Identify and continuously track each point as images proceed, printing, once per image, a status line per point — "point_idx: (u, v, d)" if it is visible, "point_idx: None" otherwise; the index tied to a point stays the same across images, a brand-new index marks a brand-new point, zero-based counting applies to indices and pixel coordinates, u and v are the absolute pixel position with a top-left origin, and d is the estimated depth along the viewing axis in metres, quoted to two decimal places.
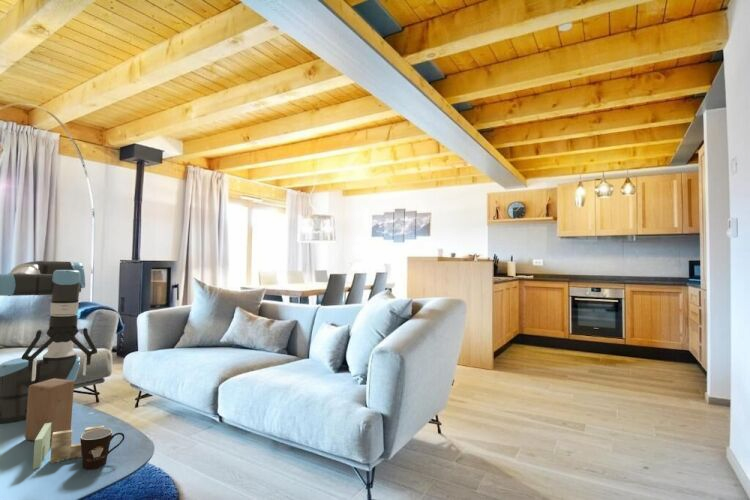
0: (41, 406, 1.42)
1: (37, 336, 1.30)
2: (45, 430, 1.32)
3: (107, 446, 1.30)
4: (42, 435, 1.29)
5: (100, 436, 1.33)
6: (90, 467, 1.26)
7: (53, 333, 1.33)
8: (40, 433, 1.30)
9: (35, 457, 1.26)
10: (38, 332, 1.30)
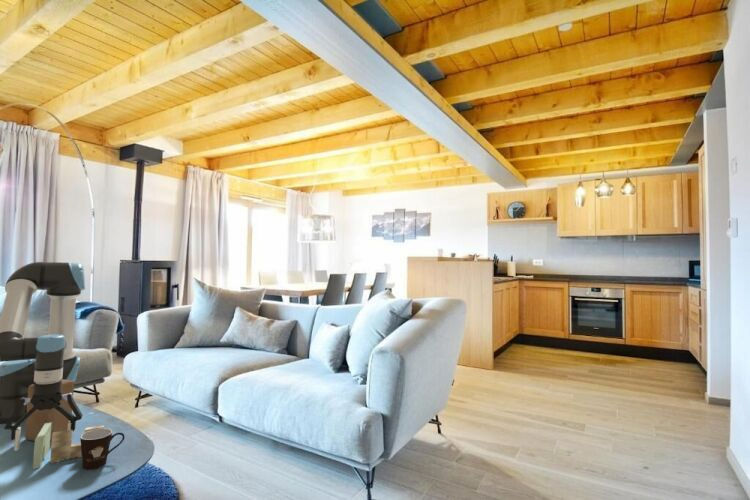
0: None
1: (20, 405, 1.29)
2: (45, 430, 1.32)
3: (107, 446, 1.30)
4: (42, 435, 1.29)
5: (100, 436, 1.33)
6: (90, 467, 1.26)
7: (36, 401, 1.31)
8: (40, 433, 1.30)
9: (35, 457, 1.26)
10: (21, 401, 1.29)
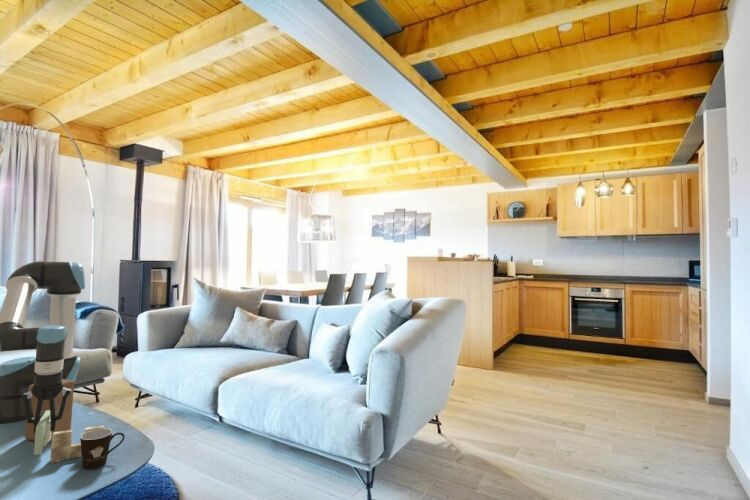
0: None
1: (25, 400, 1.30)
2: (46, 417, 1.33)
3: (107, 446, 1.30)
4: (43, 421, 1.29)
5: (100, 436, 1.33)
6: (90, 467, 1.26)
7: (37, 390, 1.32)
8: (41, 420, 1.30)
9: (36, 444, 1.26)
10: (23, 397, 1.30)
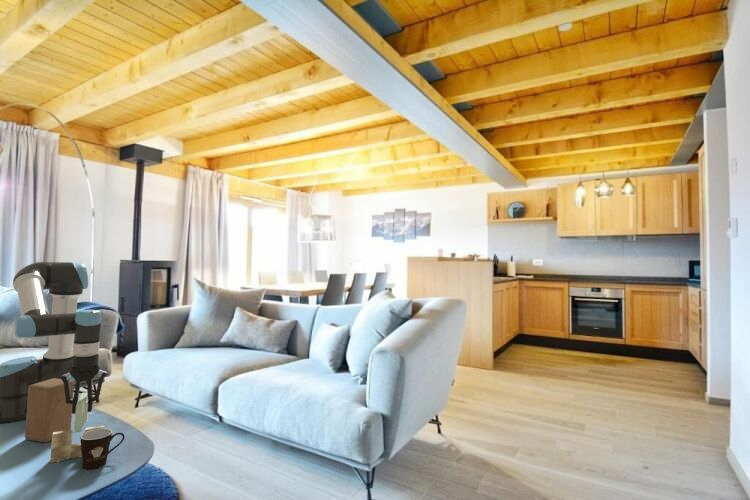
0: (41, 406, 1.42)
1: (64, 381, 1.35)
2: (84, 398, 1.37)
3: (107, 446, 1.30)
4: (82, 401, 1.34)
5: (100, 436, 1.33)
6: (90, 467, 1.26)
7: (76, 371, 1.37)
8: (80, 400, 1.35)
9: (76, 422, 1.31)
10: (62, 378, 1.35)
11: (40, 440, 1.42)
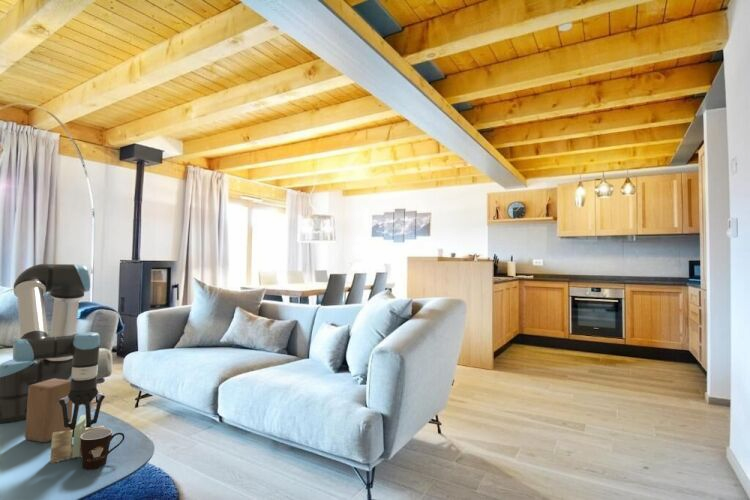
0: (41, 406, 1.42)
1: (63, 405, 1.35)
2: (82, 421, 1.37)
3: (107, 446, 1.30)
4: (80, 425, 1.34)
5: (100, 436, 1.33)
6: (90, 467, 1.26)
7: (74, 395, 1.37)
8: (78, 424, 1.35)
9: (74, 447, 1.30)
10: (61, 401, 1.35)
11: (40, 440, 1.42)
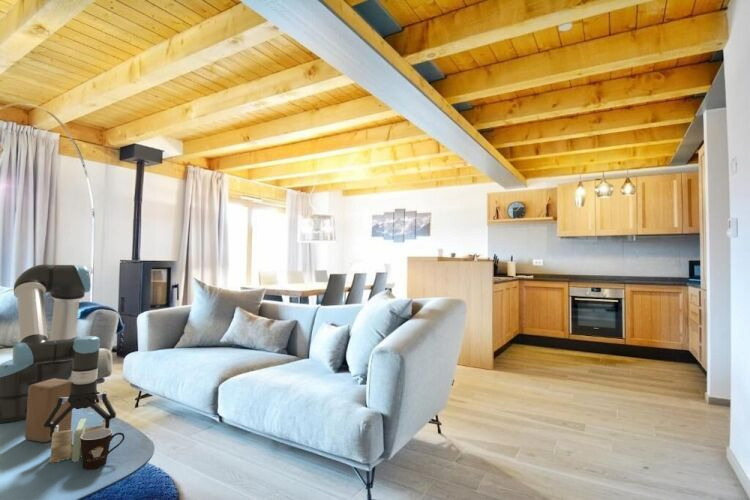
0: (41, 406, 1.42)
1: (58, 404, 1.34)
2: (82, 425, 1.37)
3: (107, 446, 1.30)
4: (80, 430, 1.34)
5: (100, 436, 1.33)
6: (90, 467, 1.26)
7: (73, 400, 1.36)
8: (77, 428, 1.35)
9: (74, 451, 1.30)
10: (59, 400, 1.34)
11: (40, 440, 1.42)
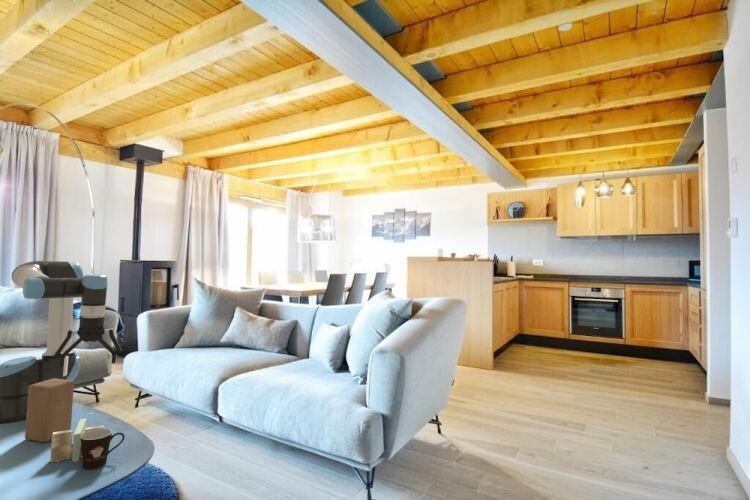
0: (41, 406, 1.42)
1: (68, 335, 1.42)
2: (82, 425, 1.37)
3: (107, 446, 1.30)
4: (80, 430, 1.34)
5: (100, 436, 1.33)
6: (90, 467, 1.26)
7: (82, 333, 1.44)
8: (77, 428, 1.35)
9: (74, 451, 1.30)
10: (69, 332, 1.42)
11: (40, 440, 1.42)
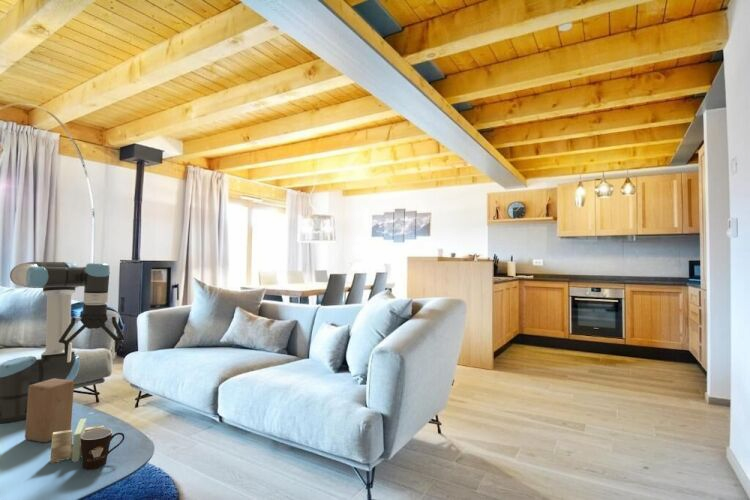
0: (41, 406, 1.42)
1: (72, 322, 1.45)
2: (82, 425, 1.37)
3: (107, 446, 1.30)
4: (80, 430, 1.34)
5: (100, 436, 1.33)
6: (90, 467, 1.26)
7: (86, 320, 1.48)
8: (77, 428, 1.35)
9: (74, 451, 1.30)
10: (73, 319, 1.46)
11: (40, 440, 1.42)
